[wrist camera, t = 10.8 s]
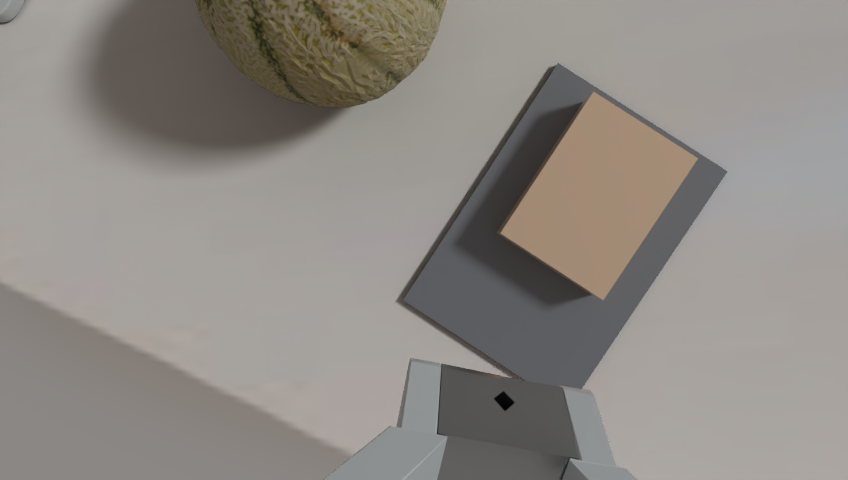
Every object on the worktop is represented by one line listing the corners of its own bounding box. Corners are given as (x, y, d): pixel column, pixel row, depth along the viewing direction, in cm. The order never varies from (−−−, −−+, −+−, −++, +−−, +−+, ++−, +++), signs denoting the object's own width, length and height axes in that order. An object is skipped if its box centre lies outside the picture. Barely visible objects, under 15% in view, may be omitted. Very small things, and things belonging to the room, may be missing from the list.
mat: (566, 406, 41) (568, 408, 40) (403, 299, 41) (403, 300, 41) (724, 172, 40) (727, 171, 40) (556, 65, 40) (557, 63, 40)
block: (603, 300, 37) (698, 158, 37) (500, 233, 37) (593, 91, 37) (591, 295, 40) (679, 164, 40) (496, 233, 40) (582, 102, 40)
